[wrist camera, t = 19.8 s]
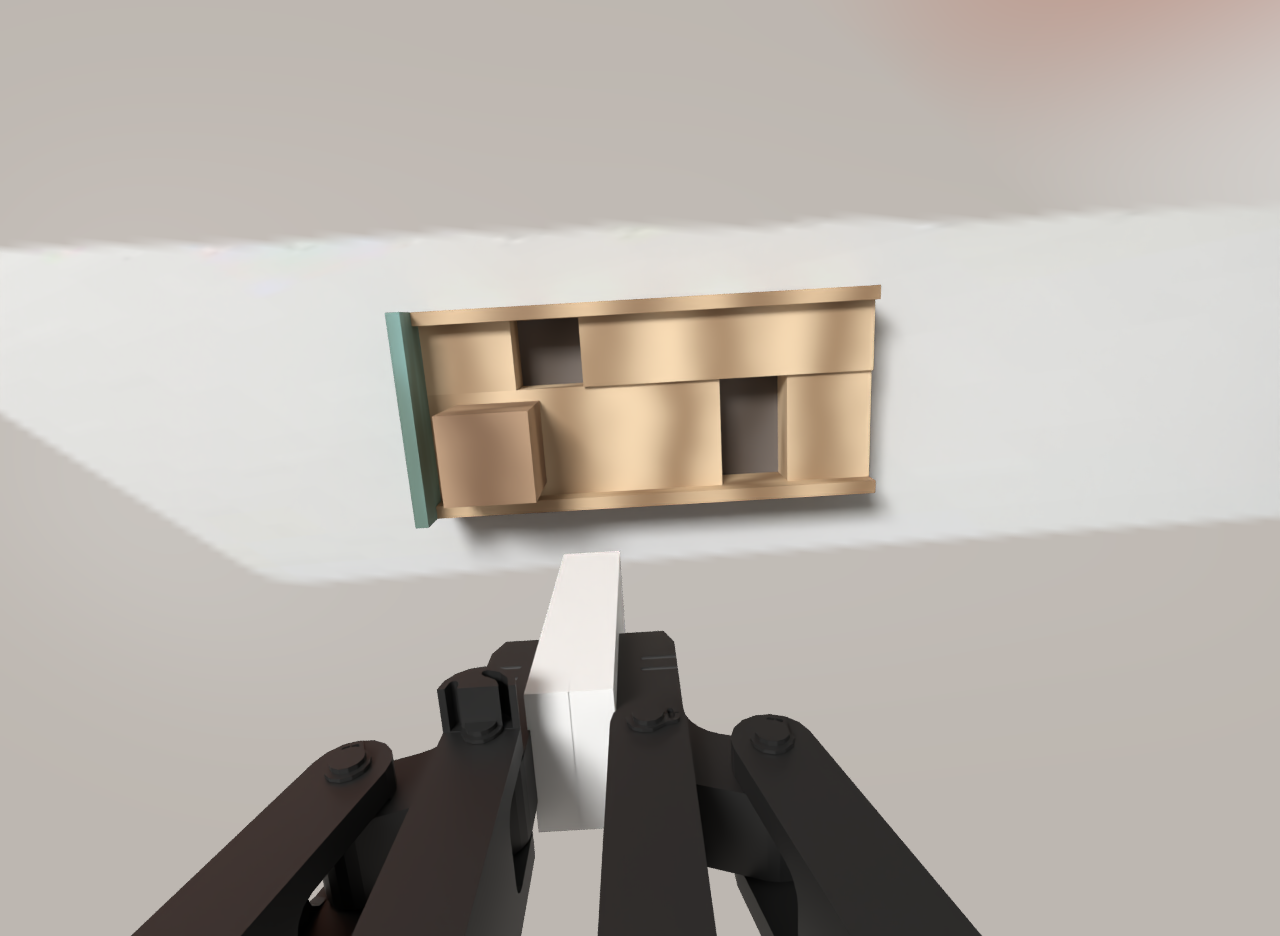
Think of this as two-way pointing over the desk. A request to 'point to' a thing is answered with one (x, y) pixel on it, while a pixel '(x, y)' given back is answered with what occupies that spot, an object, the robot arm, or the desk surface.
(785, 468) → the tray
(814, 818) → the robot arm
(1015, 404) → the desk surface
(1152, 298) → the desk surface
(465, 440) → the block
